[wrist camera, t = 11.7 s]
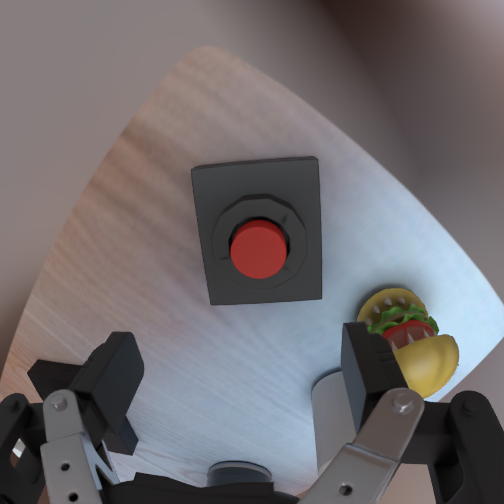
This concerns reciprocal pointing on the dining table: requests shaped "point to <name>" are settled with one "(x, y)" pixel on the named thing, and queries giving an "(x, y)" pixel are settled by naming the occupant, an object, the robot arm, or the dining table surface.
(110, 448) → the panel
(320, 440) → the beverage can
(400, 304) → the hamburger
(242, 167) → the button block
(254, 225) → the button
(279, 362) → the dining table surface
